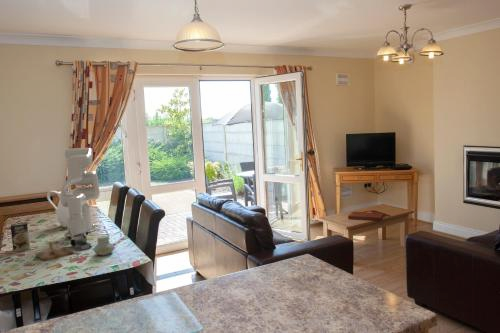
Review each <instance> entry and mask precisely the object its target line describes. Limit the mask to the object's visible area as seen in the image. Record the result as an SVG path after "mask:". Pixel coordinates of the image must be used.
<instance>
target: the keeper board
mask: <svg viewBox="0 0 500 333" xmlns="http://www.w3.org/2000/svg"><path fill="white" fill-rule="evenodd" d="M48 248H49V250H45V251H41V252H37V253H35V257H36V258H38V259H40V261H42V262H47V261H49V260H54V259H58V258H62V257H66V256H69V255H73V254H74V250H72V249H70V248H68V247H66V246H60V247H57V248H54V245H53V241H48Z"/></svg>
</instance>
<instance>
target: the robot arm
mask: <svg viewBox="0 0 500 333" xmlns="http://www.w3.org/2000/svg"><path fill="white" fill-rule="evenodd" d="M64 156H65V158H66V163H67V180H66V181H65V182H64V183H63V185H62V186H61V189H60V191H61V204H62V206H64V207H68V210H69V218H70V219H68V227H67V231H66V232H65V233H64V237H66V238H67V239H68V240H70V245H71V247H73V246H75V245H74V240H73V238H75V236H76V235H81V234H82V236H83V237H85V238H86V242H87V241H88V239H87V237H88V235H89V233H92V232H94V231H95V230H96V229H95V227H100V223H93V221H92V211H91V206H90V205H91V204H89V203H88V202H87V201H93V200H94V201H95V200H98V199H99V198H100V196H101V195H100V184H99V178H98V173H97V172H96V171H93V170H89V171H86V168H91V166H92V165H93V158H94V153H93V149H92V148H91V147H80V148H79V147H77V148H76V147H74V148H68V149H66V150H64ZM73 185H75V186H78V187H75V188H76V189H75V188H74V190H73V189H72V190H73V194H71V195H66V191H68V189H69V188H70V187H71V186H73ZM79 186H80V187H79ZM81 186H82V187H81Z"/></svg>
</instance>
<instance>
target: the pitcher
mask: <svg viewBox="0 0 500 333" xmlns="http://www.w3.org/2000/svg"><path fill="white" fill-rule="evenodd" d="M76 188H77V187H75V188H74V189H76ZM74 189H70V190H67V191H66V195H71V194H73V190H74ZM51 194H55V195H57V196H58V198H59V201H58V203H57V204H58V205H57V206H56V205H55V204H54V202H52V200H51ZM46 199H47V202H49V203H50V205H51V206H52V207H53V208H54V210H55V215H56V220H57V222H58V223H59V225H60V226H61V228H62V227H63V228H68V219H70V218H69V210H68V207H64V206H62V204H61V190H60V191H59V190H58V191H57V190H50V191H48V192H47V195H46Z"/></svg>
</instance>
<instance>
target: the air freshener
mask: <svg viewBox="0 0 500 333" xmlns="http://www.w3.org/2000/svg"><path fill="white" fill-rule="evenodd" d="M114 249H115V245H114V244H113V243H112V242H110V241H109V236H108V235H101V236H98V237H97V244H96V245H95V246H94V248H93V252H94V254H96V255H98V256H107V255H109V254H111V253H112V252H113V251H114Z"/></svg>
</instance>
